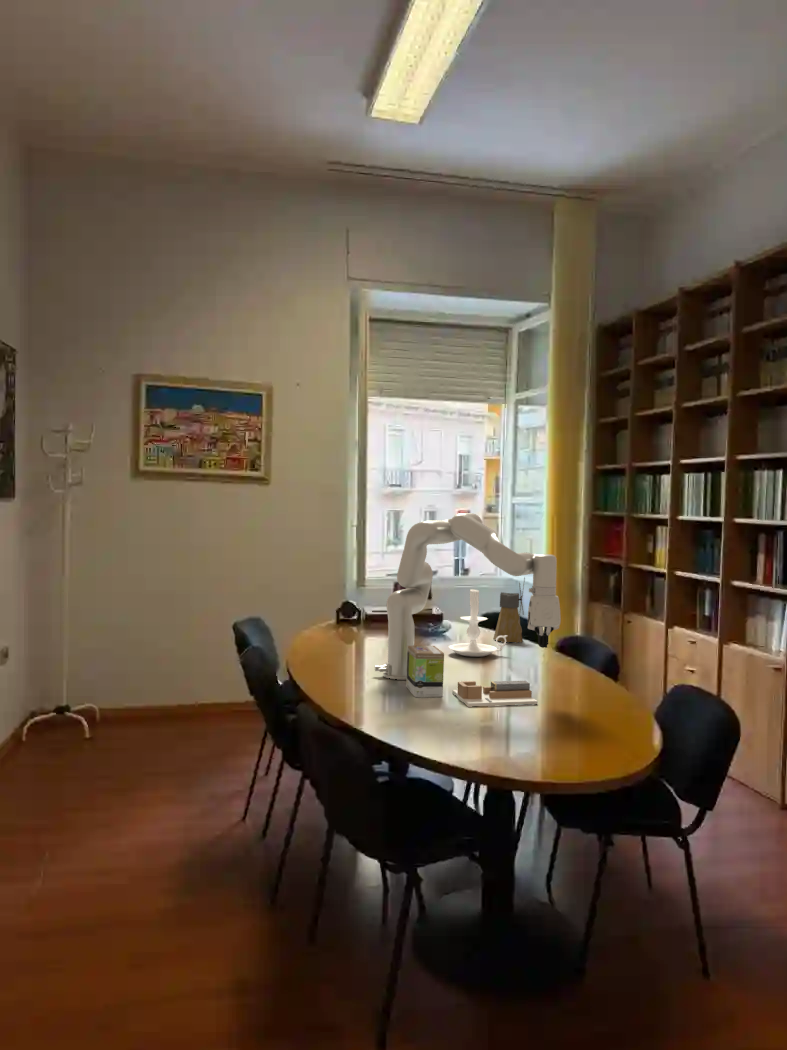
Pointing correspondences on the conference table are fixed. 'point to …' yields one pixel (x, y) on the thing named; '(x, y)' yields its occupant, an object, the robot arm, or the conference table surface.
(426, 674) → the tea box
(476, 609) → the candlestick
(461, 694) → the lock board
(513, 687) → the bolt
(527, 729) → the conference table surface
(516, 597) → the windmill
